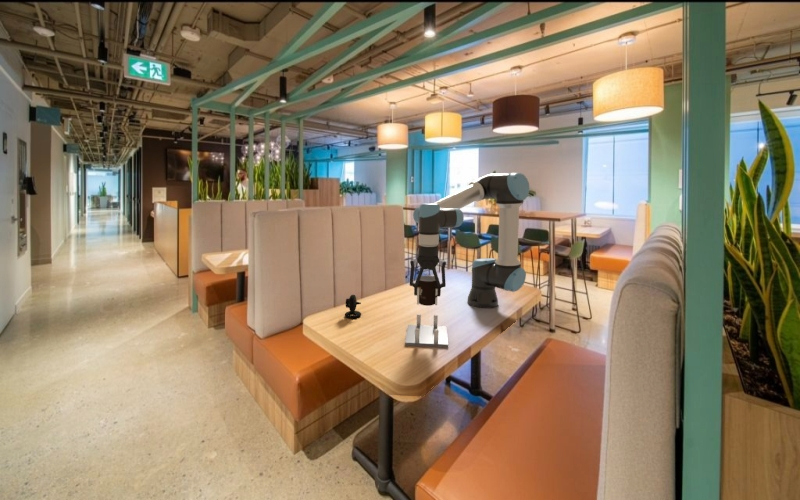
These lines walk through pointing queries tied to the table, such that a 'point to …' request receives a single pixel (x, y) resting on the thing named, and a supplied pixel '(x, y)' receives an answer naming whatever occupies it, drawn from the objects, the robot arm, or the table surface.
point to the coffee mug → (427, 290)
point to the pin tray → (426, 334)
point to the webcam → (352, 307)
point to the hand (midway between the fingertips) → (427, 303)
